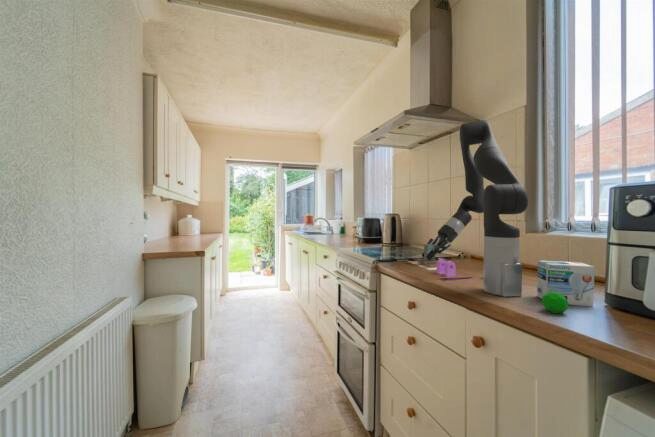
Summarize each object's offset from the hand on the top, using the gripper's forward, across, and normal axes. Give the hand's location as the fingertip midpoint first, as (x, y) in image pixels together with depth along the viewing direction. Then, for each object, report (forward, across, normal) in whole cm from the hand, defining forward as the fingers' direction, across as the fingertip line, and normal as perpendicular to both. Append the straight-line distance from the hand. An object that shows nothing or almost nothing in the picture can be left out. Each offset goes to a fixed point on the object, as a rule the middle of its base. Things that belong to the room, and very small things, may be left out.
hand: (425, 257), depth 120 cm
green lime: (0, +54, +7) cm, 55 cm away
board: (+2, 0, +5) cm, 5 cm away
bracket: (+2, +18, +6) cm, 19 cm away
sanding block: (+1, 0, +4) cm, 4 cm away
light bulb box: (-7, +47, +15) cm, 50 cm away
